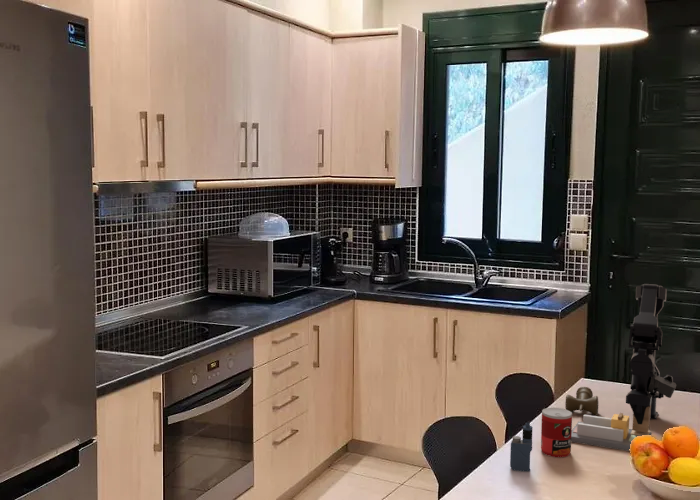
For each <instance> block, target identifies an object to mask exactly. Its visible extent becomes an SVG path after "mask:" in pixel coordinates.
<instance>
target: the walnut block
mask: <svg viewBox="0 0 700 500" xmlns="http://www.w3.org/2000/svg"><path fill="white" fill-rule="evenodd" d="M650 413H651V405H650V406H648V407H646V410H645V414H644V418H643V422H642V424H638V423H637V421H636V418H635V416H634V413H633V412H632V426H631V427H632V428H631V429H632V430H635V431H641V432H647V433H648V431H650V427H651V426H650V425H651V419H650Z"/></svg>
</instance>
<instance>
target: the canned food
mask: <svg viewBox="0 0 700 500" xmlns="http://www.w3.org/2000/svg"><path fill="white" fill-rule="evenodd" d="M540 429H541V432H540V434H541V435H540V449H541V452H542V454H544V455H546V456H547V457H548V456H549V457H552V458H567V457H569V456H570V455H571V452H572V442H571V434H572V430H573V412H570V411H568V410H566V408H561V407H546V408H543V409H542V410H541V428H540Z"/></svg>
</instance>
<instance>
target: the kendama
mask: <svg viewBox="0 0 700 500" xmlns="http://www.w3.org/2000/svg"><path fill="white" fill-rule="evenodd" d="M593 394H594V392H593V391H592V388H590V387H588V386H580V387H579V388H577V390H576V393H575V395H576V396H572V395H570V394H566V396H565V405H564V406H565V408H564V409H566V410H568V411H570V412H571V413H573V412H575V411H585V412H588V413H590V414H592V416H598V414H599V396H598V395H595V396H594V395H593Z"/></svg>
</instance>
